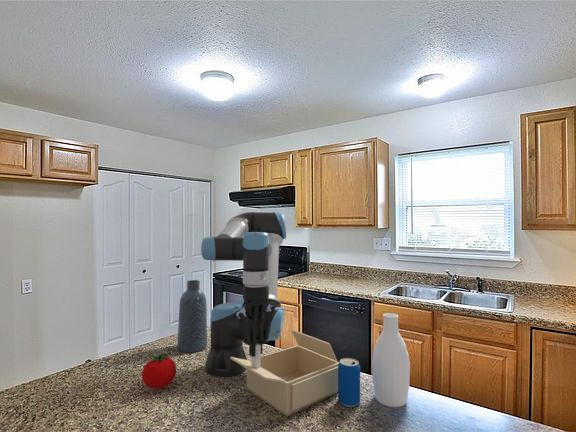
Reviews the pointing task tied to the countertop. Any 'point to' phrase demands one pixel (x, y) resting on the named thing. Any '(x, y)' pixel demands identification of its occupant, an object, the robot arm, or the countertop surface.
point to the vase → (192, 319)
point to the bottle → (391, 365)
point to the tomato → (159, 372)
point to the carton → (295, 379)
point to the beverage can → (349, 382)
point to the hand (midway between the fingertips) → (255, 366)
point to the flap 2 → (314, 344)
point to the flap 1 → (257, 370)
